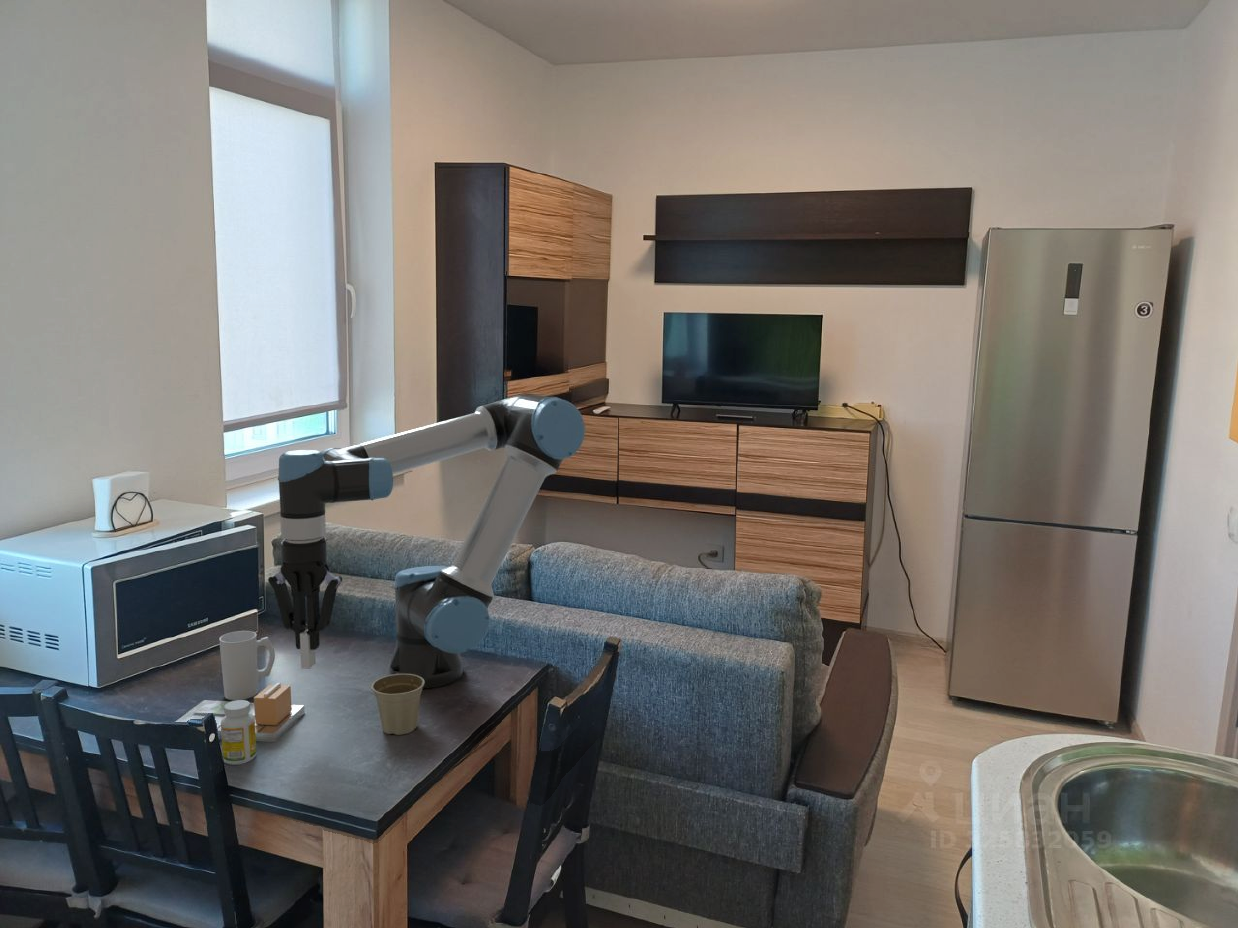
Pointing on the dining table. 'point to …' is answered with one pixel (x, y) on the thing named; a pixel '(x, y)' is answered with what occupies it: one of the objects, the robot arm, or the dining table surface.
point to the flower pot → (398, 702)
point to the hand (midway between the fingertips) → (308, 665)
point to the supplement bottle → (238, 733)
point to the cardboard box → (272, 704)
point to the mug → (243, 663)
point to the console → (262, 731)
